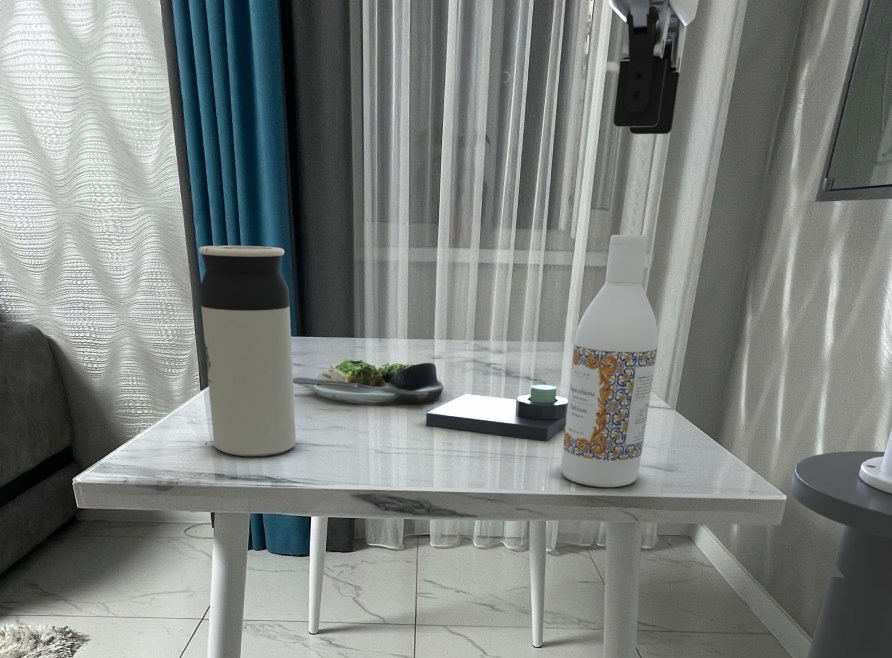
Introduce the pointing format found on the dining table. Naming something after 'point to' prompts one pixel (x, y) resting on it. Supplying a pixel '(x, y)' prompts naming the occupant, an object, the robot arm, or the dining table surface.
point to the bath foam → (612, 374)
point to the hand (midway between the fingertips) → (643, 127)
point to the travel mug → (248, 349)
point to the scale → (502, 416)
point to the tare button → (543, 393)
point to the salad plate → (377, 383)
